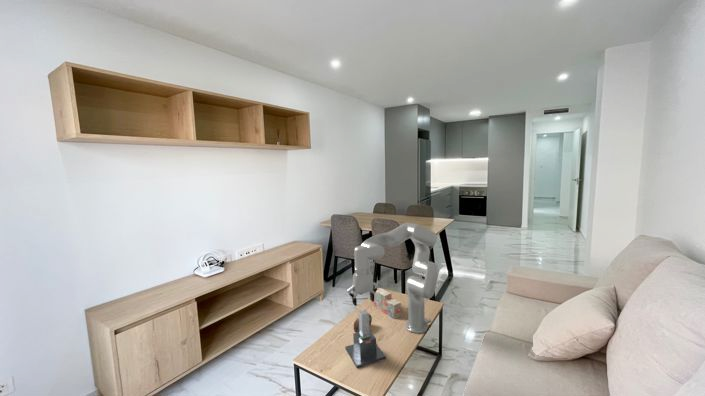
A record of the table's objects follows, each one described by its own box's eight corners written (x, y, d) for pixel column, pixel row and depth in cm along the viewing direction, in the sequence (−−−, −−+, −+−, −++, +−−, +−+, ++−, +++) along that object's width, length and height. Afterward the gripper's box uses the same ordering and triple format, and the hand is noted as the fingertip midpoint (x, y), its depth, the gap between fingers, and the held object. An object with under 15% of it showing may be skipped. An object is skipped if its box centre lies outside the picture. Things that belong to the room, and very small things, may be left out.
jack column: (366, 338, 151) (365, 309, 149) (370, 342, 147) (369, 313, 146) (359, 340, 150) (358, 311, 148) (362, 344, 146) (361, 315, 144)
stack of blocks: (401, 316, 186) (400, 298, 184) (394, 319, 182) (393, 300, 181) (380, 303, 203) (379, 287, 202) (373, 306, 200) (372, 289, 198)
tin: (357, 336, 165) (356, 322, 164) (352, 334, 167) (352, 321, 166) (372, 325, 176) (371, 312, 175) (368, 323, 178) (367, 310, 177)
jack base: (372, 341, 160) (371, 324, 158) (385, 358, 145) (385, 340, 144) (345, 349, 154) (344, 331, 153) (356, 368, 139) (356, 348, 138)
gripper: (374, 265, 151) (375, 296, 153) (343, 271, 145) (345, 303, 147) (381, 270, 144) (382, 302, 146) (349, 276, 138) (350, 309, 140)
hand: (363, 302), depth 146 cm, fingers open, 9 cm apart
